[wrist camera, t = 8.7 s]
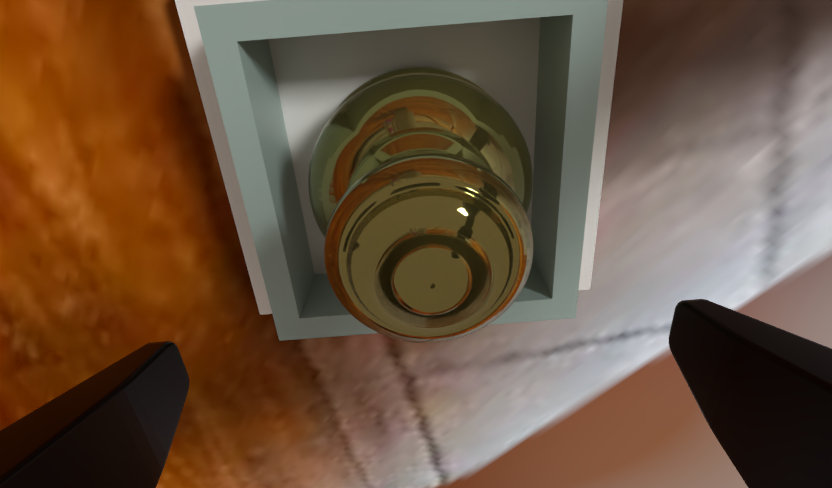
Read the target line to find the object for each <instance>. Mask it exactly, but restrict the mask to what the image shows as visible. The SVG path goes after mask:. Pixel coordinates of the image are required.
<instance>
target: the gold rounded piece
mask: <svg viewBox="0 0 832 488" xmlns="http://www.w3.org/2000/svg"><path fill="white" fill-rule="evenodd" d="M532 183H533V175H532V164H531V158H530V154H529V150H528V147H527V144H526V141H525V139H524V137H523V134H522V132H521V130H520V129H519V127H518V125H517V124H516V122H515V121H514V119H513V118H512V117H511V115H510V114H509V113H508V112H507V110H506V109H505V108H504V107H503V106H502V105H501V104H500V103H499V102H497V101H496V100H495V99H494V98H493V97H492V96H490V95H489V94H488V93H486V92H485V91H484V90H483V89H482V88H480V87H479V86H478V85H476V84H475V83H473V82H471V81H470V80H468V79H466V78H464V77H462V76H460V75H457V74H455V73H453V72H450V71H447V70H445V69H441V68H437V67H431V66H405V67H399V68H395V69H391V70H388V71H385V72H383V73H381V74H378V75H376V76H374V77H373V78H371V79H369V80H368V81H366V82H365V83H363V84H362V85H361V86H359V87H358V88H357V89H356V90H355V91H353V92H352V93H351V94H350V95H349V96H348V97H347V98H346V99H345V100H344V101H343V102H342V103H341V104H340V106H339V107H338V108H337V110H336V111H335V112H334V114H333V115H332V116H331V118H330V119H329V120H328V122H327V123H326V125H325V126H324V128H323V130H322V131H321V133H320V135H319V137H318V139H317V142H316V144H315V146H314V150H313V153H312V156H311V161H310V165H309V174H308V189H309V198H310V204H311V208H312V212H313V215H314V218H315V220H316V223H317V225H318V227H319V229H320V231H321V233H322V234H323V236H324V238H325V247H324V257H325V267H326V272H327V276H328V279H329V282H330V285H331V287H332V289H333V291H334V293H335V295H336V296H337V298H338V300H339V301H340V302H341V304H342V305H343V306H344V307H345V309H346V310H347V311H348V312H349V313H350V314H351V315H352V316H353V317H354V318H356V319H357V320H358V321H359V322H361V323H362V324H364V325H365V326H367V327H368V328H370V329H372V330H374V331H376V332H378V333H380V334H382V335H385V336H388V337H390V338H394V339H397V340H402V341H407V342H416V343H435V342H444V341H449V340H454V339H458V338H461V337H464V336H467V335H470V334H472V333H474V332H476V331H478V330H480V329H482V328H484V327H486V326H487V325H489V324H490V323H492V322H493V321H495V320H496V319H497V318H499V317H500V316H501V315H502V314H503V313H504V312H505V311H506V310H507V309H508V308H509V307H510V306H511V305H512V304H513V302H514V301H515V300H516V299H517V297H518V296H519V294H520V293H521V291H522V289H523V287H524V285H525V283H526V281H527V279H528V276H529V273H530V270H531V265H532V260H533V236H532V230H531V226H530V223H529V219H528V216H527V211H528V208H529V205H530V200H531V195H532Z"/></svg>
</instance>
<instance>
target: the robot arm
mask: <svg viewBox="0 0 832 488" xmlns="http://www.w3.org/2000/svg"><path fill="white" fill-rule="evenodd" d="M669 346H670V350H671V352H672V354H673V356H674V358H675V360H676V362H677V364H678V366H679V368H680V370H681V372H682V374H683V376H684V378H685V380H686V382H687V383H688V386H689V388H690V390H691V392H692V394H693V395H694V398H695V400H696V401H697V403H698V405H699V407H700V409H701V411H702V413H703V415H704V417H705V419H706V421H707V422H708V424H709V426H710V428H711V429H712V431H713V433H714V434H715V436H716V438H717V439H718V441H719V443H720V444H721V446H722V447H723V449H724V450H725V452H726V453H727V455H728V456H729V458H730V459H731V461H732V463H733V464H734V466H735V467H736V469H737V470H738V472H739V474H740V475H741V476H742V478H743V480H744V481H745V483H746V485H747V486H748V487H749V488H832V349H831V348H828V347H826V346H823V345H821V344H818V343H816V342H813V341H810V340H808V339H805V338H802V337H800V336H797V335H795V334H793V333H790V332H787V331H785V330H782V329H780V328H777V327H775V326H772V325H769V324H766V323H764V322H762V321H759V320H757V319H754V318H751V317H749V316H746V315H744V314H741V313H739V312H736V311H733V310H731V309H728V308H726V307H723V306H721V305H718V304H716V303H713V302H710V301H708V300H705V299H696V300H684V301H681V302H679V303H678V304H677V306H676V308H675V312H674V316H673V321H672V326H671V330H670V335H669ZM188 389H189V377H188V373H187V371H186V368H185V366H184V363H183V360H182V358H181V355H180V352H179V350H178V348H177V346H176V345H175V343H173V342H170V341H166V342H154V343H148V344H146V345H144V346H142V347H141V348H139V349H137V350H136V351H134V352H132V353H131V354H129V355H127V356H126V357H124V358H122V359H120V360H119V361H117V362H115V363H114V364H112V365H110V366H109V367H107V368H105V369H104V370H102V371H100V372H99V373H97V374H95V375H94V376H92V377H90V378H88V379H87V380H85V381H83V382H82V383H80V384H78V385H77V386H75V387H73V388H72V389H70V390H68V391H67V392H65V393H63V394H62V395H60V396H58V397H56V398H55V399H53V400H51V401H50V402H48V403H46V404H45V405H43V406H41V407H40V408H38V409H36V410H35V411H33V412H31V413H30V414H28V415H26V416H24V417H23V418H21V419H19V420H18V421H16V422H14V423H13V424H11V425H9V426H8V427H6V428H4V429H3V430H1V431H0V488H156V486H157V483H158V481H159V478H160V476H161V473H162V471H163V468H164V465H165V462H166V459H167V456H168V453H169V450H170V447H171V444H172V441H173V437H174V434H175V431H176V428H177V425H178V422H179V418H180V415H181V412H182V409H183V406H184V402H185V399H186V396H187V393H188Z"/></svg>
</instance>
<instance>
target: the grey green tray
mask: <svg viewBox="0 0 832 488" xmlns="http://www.w3.org/2000/svg"><path fill="white" fill-rule="evenodd" d="M175 3H176V7H177V11H178V14H179V18H180V22H181V25H182V29H183V33H184V36H185V40H186V44H187V48H188V51H189V55H190V59H191V62H192V66H193V70H194V73H195V77H196V81H197V84H198V88H199V92H200V95H201V99H202V103H203V107H204V110H205V114H206V118H207V121H208V125H209V129H210V132H211V136H212V140H213V143H214V147H215V151H216V154H217V158H218V162H219V166H220V169H221V173H222V177H223V180H224V184H225V188H226V191H227V195H228V199H229V202H230V206H231V210H232V213H233V217H234V221H235V225H236V228H237V232H238V236H239V239H240V243H241V247H242V250H243V254H244V258H245V261H246V265H247V269H248V273H249V276H250V280H251V284H252V287H253V291H254V295H255V298H256V302H257V306H258V309H259V313H260V315H264V314H273V318H274V322H275V326H276V330H277V334H278V338H279V341H282V340H295V339H308V338H321V337H334V336H347V335H360V334H373V333H378V332H376V331H374V330H372V329H370V328H368V327H367V326H365V325H364V324H362V323H361V322H359V321H358V320H357V319H356V318H354V317H353V316H352V315H351V314H350V313H349V312H348V311H347V310H346V309H345V307H344V306H343V305H342V304H341V302H340V301H339V300H338V298H337V296H336V295H335V293H334V291H333V289H332V287H331V285H330V282H329V279H328V276H327V272H326V267H325V257H324V247H325V238H324V236H323V234H322V233H321V231H320V229H319V227H318V225H317V223H316V220H315V218H314V215H313V212H312V208H311V204H310V198H309V189H308V174H309V165H310V161H311V156H312V153H313V150H314V146H315V144H316V142H317V139H318V137H319V135H320V133H321V131H322V130H323V128H324V126H325V125H326V123H327V122H328V120H329V119H330V118H331V116H332V115H333V114H334V112H335V111H336V110H337V108H338V107H339V106H340V104H341V103H342V102H343V101H344V100H345V99H346V98H347V97H348V96H349V95H350V94H351V93H352V92H353V91H355V90H356V89H357V88H358V87H359V86H361V85H362V84H363V83H365V82H366V81H368V80H369V79H371V78H373V77H374V76H376V75H378V74H381V73H383V72H385V71H388V70H391V69H395V68H399V67H405V66H431V67H437V68H441V69H445V70H447V71H450V72H453V73H455V74H457V75H460V76H462V77H464V78H466V79H468V80H470V81H471V82H473V83H475V84H476V85H478V86H479V87H480V88H482V89H483V90H484V91H485V92H486V93H488V94H489V95H490V96H492V97H493V98H494V99H495V100H496V101H497V102H499V103H500V104H501V105H502V106H503V107H504V108H505V109H506V110H507V112H508V113H509V114H510V115H511V117H512V118H513V119H514V121H515V122H516V124H517V125H518V127H519V129H520V130H521V132H522V134H523V137H524V139H525V141H526V144H527V147H528V150H529V154H530V158H531V164H532V175H533V183H532V195H531V200H530V205H529V208H528V211H527V216H528V219H529V223H530V226H531V230H532V236H533V260H532V265H531V270H530V273H529V276H528V279H527V281H526V283H525V285H524V287H523V289H522V291H521V293H520V294H519V296H518V297H517V299H516V300H515V301H514V302H513V304H512V305H511V306H510V307H509V308H508V309H507V310H506V311H505V312H504V313H503V314H502V315H501V316H500V317H499V318H497V319H496V320H495V321H493V322H492V323H490V324H489V325H491V324H504V323H517V322H530V321H543V320H556V319H569V318H576V309H577V300H578V290H588V289H590V286H591V277H592V268H593V260H594V251H595V242H596V234H597V225H598V216H599V207H600V199H601V190H602V181H603V173H604V164H605V155H606V147H607V138H608V129H609V121H610V112H611V103H612V95H613V86H614V77H615V68H616V60H617V51H618V42H619V34H620V25H621V16H622V8H623V0H175Z"/></svg>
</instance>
